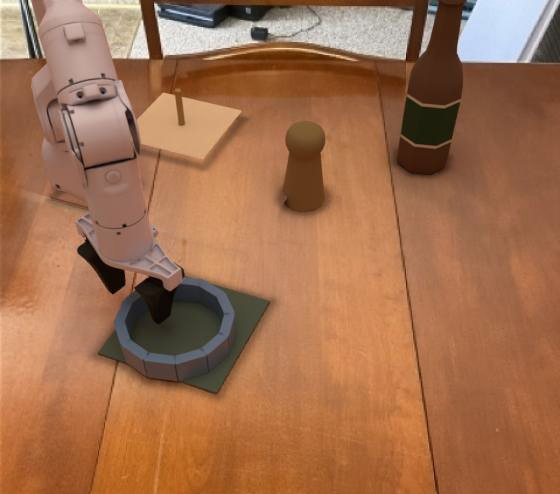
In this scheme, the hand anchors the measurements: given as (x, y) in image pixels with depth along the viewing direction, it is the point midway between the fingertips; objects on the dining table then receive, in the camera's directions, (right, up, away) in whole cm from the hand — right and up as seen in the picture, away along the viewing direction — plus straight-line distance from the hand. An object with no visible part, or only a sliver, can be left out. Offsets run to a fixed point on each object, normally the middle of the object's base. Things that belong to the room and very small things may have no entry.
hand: (139, 303), depth 80 cm
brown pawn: (+20, +16, +15) cm, 30 cm away
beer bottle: (+38, +23, +21) cm, 49 cm away
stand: (+2, +29, +25) cm, 38 cm away
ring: (+5, -4, -1) cm, 6 cm away
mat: (+6, -3, 0) cm, 6 cm away
